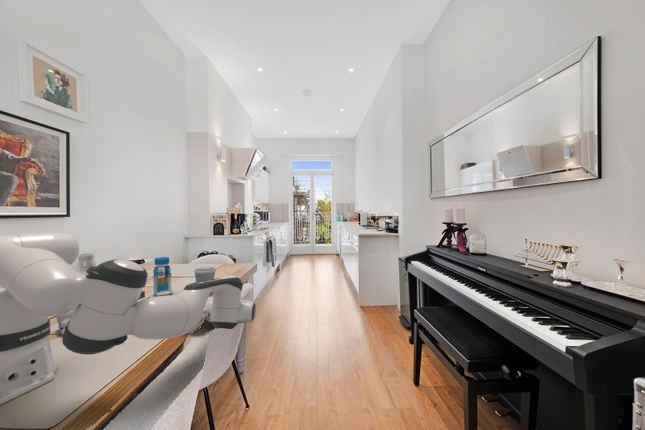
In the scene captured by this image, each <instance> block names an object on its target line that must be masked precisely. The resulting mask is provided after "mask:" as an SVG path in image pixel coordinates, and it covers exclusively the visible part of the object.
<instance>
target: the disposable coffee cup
mask: <svg viewBox="0 0 645 430" xmlns="http://www.w3.org/2000/svg"><path fill="white" fill-rule="evenodd" d="M216 271H217V269H216V267H215V266H198V267H195V268H194V271H193V272H194V275H195V276H194V278H195V282H200V281H205V280H211V279H215V274H216ZM211 295H212V293H211V294H210V295H209V296H211Z"/></svg>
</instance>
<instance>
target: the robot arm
mask: <svg viewBox="0 0 645 430" xmlns="http://www.w3.org/2000/svg"><path fill="white" fill-rule="evenodd" d="M79 254H80V245H79V243H78V241H77V240H76V239H75V237H74V236H73V235H71V234H69V233H61V232H52V231H51V232H49V231H48V232H47V231H45V232H30V233H16V234H15V233H13V234H0V288H3V289H4V290H2V291H0V405H2V404H5V403H6V402H9V401H11V400H13V399H15V398H18V397H20V396H22V395H23V394H26V393H27V392H30V391H32V390H34V389H36V388H38V387H40V386H43V385H45V384H46V383H48V382H50V381H52V380H53V379H55V376H54V374H55V372H56V371H57V370H58V365H57V363H56V361H55V359H54V355H53V352H52V349H51V342H50V337H49V336H50V334H51V321H50V319H48V317H57V316H58V315H62V314H64V313H67V312H69V311H71V310H74V312H73V314H72V317H71V319H70V322H69V324H68V325H67V326H66V328H65V330H64V334H63V335H62V340H61V343H62V345H63V346H64V347H65V348H66V349H67V350H68V351H70V352H72V353H75V354H80V355H96V354H100V353H103V352H106V351H108V350H112V349H113V348H114V347H116V346H121V345H122V344H124V343H125V342H126V341H127V340H128V338H129V337H128V335H130V336H133V337H135V338H137V339H141V340H166V339H167V340H168V339H173V338H179V337H181V336H185V335H186V334H188V333H190V332H192V331H193V330H194V329H195V328H196V327H197V326H198V325H199V323H201V322H203V321H204V320H205V319H206V321H207V322H208V323H210V324H211V325H212V327H213V328H215V329H225V330H233V329H234V328H235V327H236V326H238V324H246V323H252V322H253V321H254V319H255V316H256V303H255V302H254V301H252V300H246V299H242V298H241V297H242V291H243V287H244V282H242V280H241V278H240V277H238V276H235V275H231V274H229V275H223V276H219V277H217V278H214V279H211V280H205V281H200V282H196V281H195V282H191V283H188V284H187V285H185V287H184V288H183V289H182V290H181V291H179V293H177V294H173V295H168V296H158V297H154V296H153V297H150V298H148V299H145V300H142V301H138V300H139V297H140V294H141V292H142V291H143V288H145V287H146V284H147V281H148V276H149V275H148V272H147V270H146V269H145V268H144V267H143V266H142V265H140V264H138V263H136V262H135V261H131V260H127V259H110V260H107V261H104V262H101V263H99V264H97V265H96V266H94V265H93V266H90V267H88V268H87V269H86V270H85V272H86V273H87V274H82V273H81V272H79V271H77V270H76V269H75V268H74V267H73V266H72V264H73V263H75V261H76V260H77V258H78V257H79ZM212 293H213V296H211V295H212ZM210 294H211V295H210Z"/></svg>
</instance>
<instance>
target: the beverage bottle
mask: <svg viewBox="0 0 645 430" xmlns="http://www.w3.org/2000/svg"><path fill="white" fill-rule="evenodd" d="M169 264H170V257H169V256H161V257H155V258H154V265H155V266H154V267H153V270H152V271H153V272H152V273H153V275H152V279H153V281H152V282H153V297H155V296H156V293H157V292H160V291H167V290H170V291H172V272H171V271H172V269H171V267H170V265H169Z"/></svg>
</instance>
